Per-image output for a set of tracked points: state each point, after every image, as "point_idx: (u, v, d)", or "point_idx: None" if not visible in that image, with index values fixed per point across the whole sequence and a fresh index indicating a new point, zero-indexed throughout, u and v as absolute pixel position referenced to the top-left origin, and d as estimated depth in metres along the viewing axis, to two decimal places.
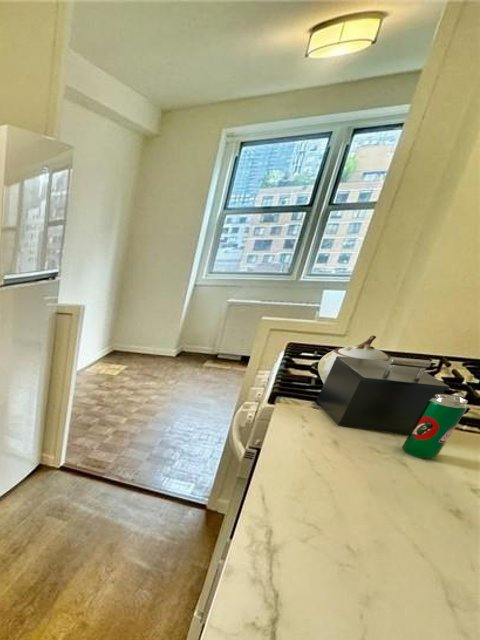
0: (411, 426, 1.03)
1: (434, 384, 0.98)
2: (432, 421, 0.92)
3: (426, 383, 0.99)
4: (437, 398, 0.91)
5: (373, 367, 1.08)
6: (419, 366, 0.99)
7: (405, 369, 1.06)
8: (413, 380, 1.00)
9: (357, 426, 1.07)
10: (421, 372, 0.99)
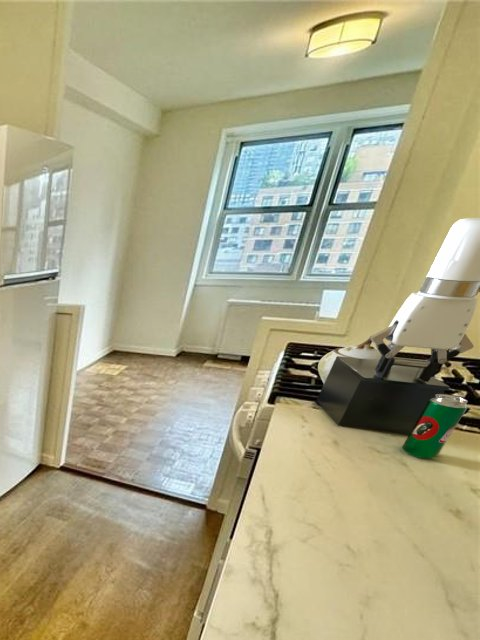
0: (411, 426, 1.03)
1: (434, 384, 0.98)
2: (432, 421, 0.92)
3: (426, 383, 0.99)
4: (437, 398, 0.91)
5: (373, 367, 1.08)
6: (419, 366, 0.99)
7: (405, 369, 1.06)
8: (413, 380, 1.00)
9: (357, 426, 1.07)
10: (421, 372, 0.99)
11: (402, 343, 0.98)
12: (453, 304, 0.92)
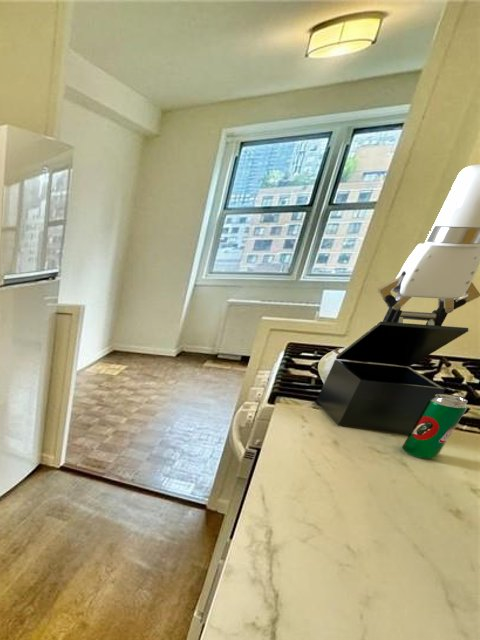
0: (411, 426, 1.03)
1: None
2: (432, 421, 0.92)
3: None
4: (437, 398, 0.91)
5: None
6: (427, 316, 1.00)
7: None
8: None
9: (357, 426, 1.07)
10: (432, 323, 0.99)
11: (409, 293, 0.98)
12: (460, 252, 0.93)
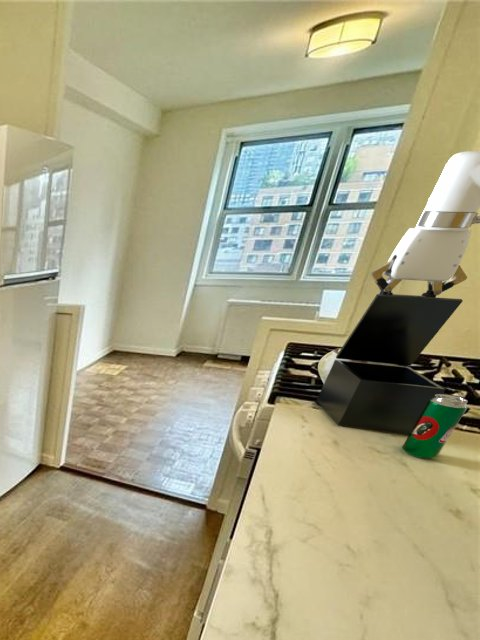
0: (411, 426, 1.03)
1: None
2: (432, 421, 0.92)
3: None
4: (437, 398, 0.91)
5: None
6: None
7: None
8: None
9: (357, 426, 1.07)
10: None
11: (400, 276, 1.03)
12: (448, 235, 0.97)
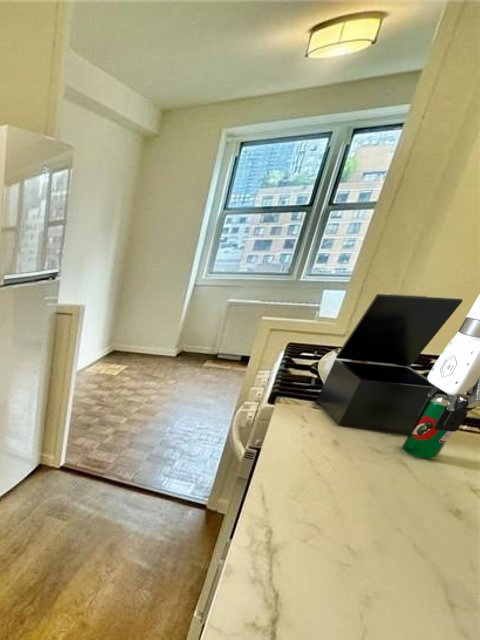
0: (411, 426, 1.03)
1: None
2: (433, 421, 0.92)
3: None
4: (437, 398, 0.91)
5: None
6: None
7: None
8: None
9: (357, 426, 1.07)
10: None
11: None
12: None
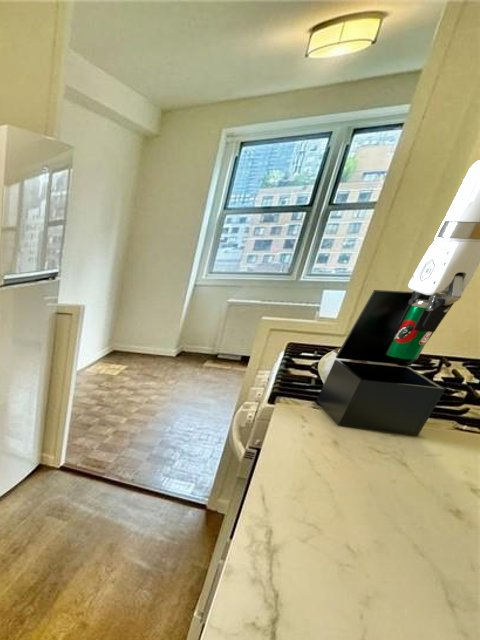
0: (411, 426, 1.03)
1: None
2: (413, 324, 0.99)
3: None
4: (417, 302, 0.98)
5: None
6: None
7: None
8: None
9: (357, 426, 1.07)
10: None
11: None
12: None
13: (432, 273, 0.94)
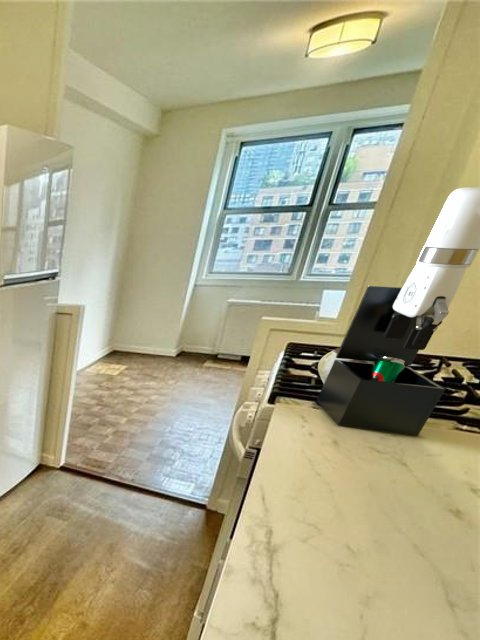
0: (411, 426, 1.03)
1: None
2: (378, 375, 1.09)
3: None
4: (381, 357, 1.09)
5: None
6: None
7: None
8: None
9: (357, 426, 1.07)
10: None
11: None
12: None
13: (414, 296, 0.98)
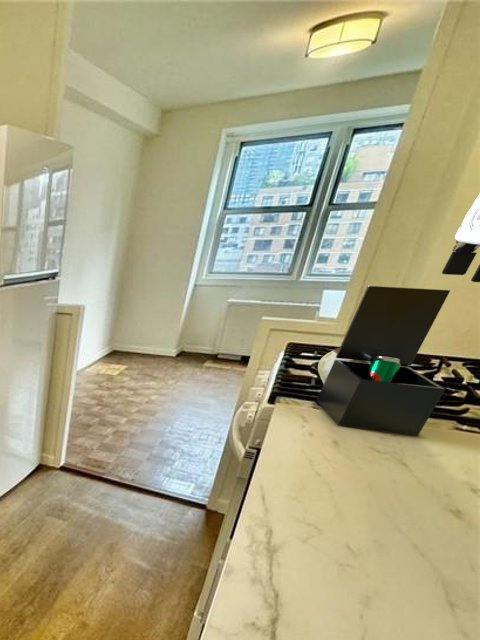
0: (411, 426, 1.03)
1: None
2: (375, 374, 1.09)
3: None
4: (376, 357, 1.10)
5: None
6: None
7: None
8: None
9: (357, 426, 1.07)
10: None
11: None
12: None
13: None
